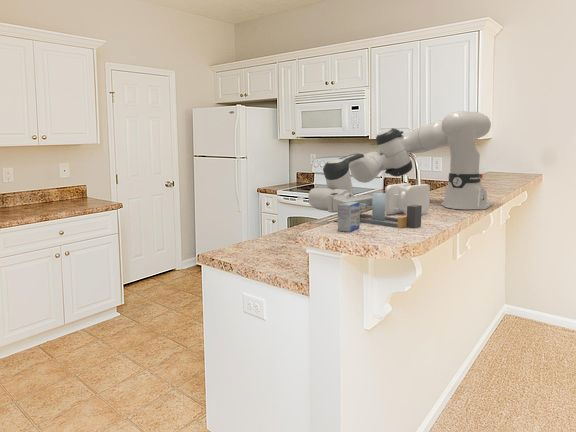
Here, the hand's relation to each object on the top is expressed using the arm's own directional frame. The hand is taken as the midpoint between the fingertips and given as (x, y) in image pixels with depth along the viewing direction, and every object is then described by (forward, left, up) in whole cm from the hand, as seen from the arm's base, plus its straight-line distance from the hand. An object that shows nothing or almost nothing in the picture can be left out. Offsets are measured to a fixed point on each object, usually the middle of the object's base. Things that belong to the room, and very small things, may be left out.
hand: (373, 204), depth 163 cm
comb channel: (0, +7, -6) cm, 9 cm away
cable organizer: (-20, +1, -6) cm, 21 cm away
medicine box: (+18, +3, -6) cm, 19 cm away
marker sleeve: (0, +2, -6) cm, 6 cm away
